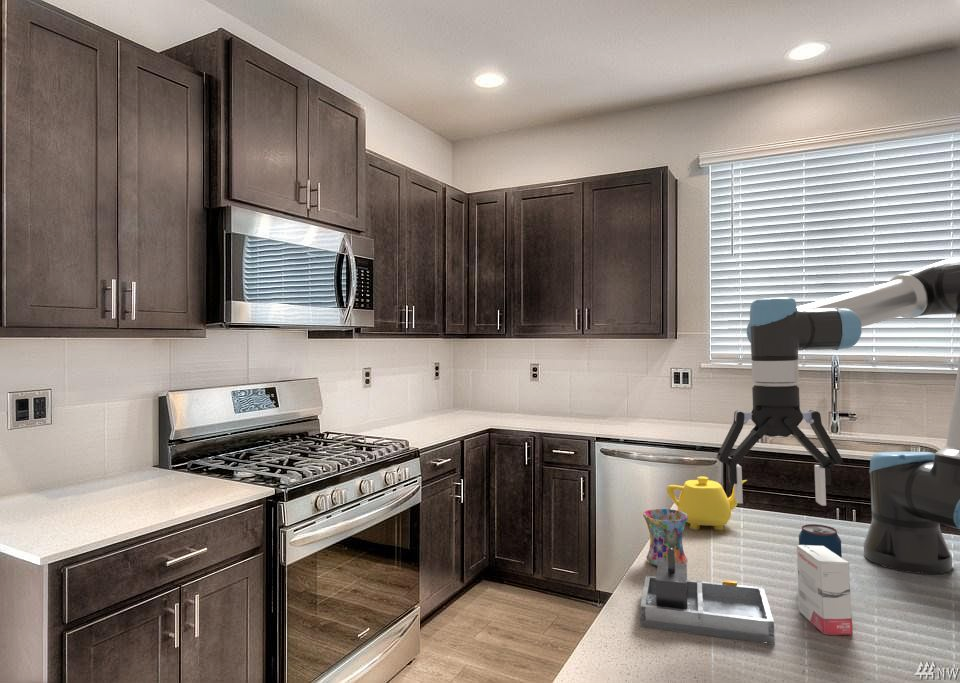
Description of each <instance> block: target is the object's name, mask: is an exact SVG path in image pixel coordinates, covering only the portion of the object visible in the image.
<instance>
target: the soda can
mask: <svg viewBox="0 0 960 683" xmlns="http://www.w3.org/2000/svg"><path fill="white" fill-rule="evenodd" d="M798 545H814V546H825V547H826V548H827V549H829V550H830V551H832V552H833V553H835V554H836V555H838V556H839V557H841V558H843V556H842V555H843V554H842V552H843V551H842V540H841V538H840V536H839V534H838V530H837V529H836V528H835V527H831V526H828V525H824V524H818V523H816V524H812V523H811V524H804V525H802V526H801V530H800V533H799V534H798Z"/></svg>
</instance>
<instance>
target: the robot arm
mask: <svg viewBox="0 0 960 683" xmlns="http://www.w3.org/2000/svg"><path fill="white" fill-rule="evenodd" d="M796 301H797V300H795V299H794V298H793V297H769V298H760V299H756V300H754V301H752V303H751V304H750V310H749V322H748V323H747V327H746V337H747V339H748V342H749V343H750V354H751V355H750V356H751V381H752V382H753V383H755V384H754V385H753V386H752V388H751V391H752V410H751V412H746V411H745V412H744V411H741V410H735V411H734V413H733V423H732V424H731V427H730V428H729V430H728V433H727V434H726V437H725V438H724V441H723V443H722V444H721V447H720V448H719V450H718V453H717V455H716V459H717V460H718V461H719V462H720V463H722V464H725V465H727V479H728V482H729V483H730V484H732V485H733V486H734V489H735V500H736V501H737V502H738V504H744V502H743V500H744V498H743V484H742V480H743V471H742V466H741V465H740V464H739V463H740V462H741V461H742V460H743V458H744V457H745V456H746V455H747V454H748V453H749V451H750V450H752V448H753V447H755V445H756V444H757V443H758V441H760V440H761V439H762V438H763V437H764V436H768V437H770V438H771V437H772V438H773V437H778V436H779V437H785V438H787V437H789V436H791V435H792V437H793V438H795V439H796V440H797V441H798V443H799V444H800V445H801V446H802V447H803V448H805V450H806V451H807V452H808V453H809V454H810V455H811V456H812V457H813V459H815V460H816V461H817V462H818V464H814V489H815V491H814V492H815V493H814V494H815V502H816V503H817V504H819V505H821V506H824V507H825V506H827V494H826V493H827V492H826V491H827V489H826V486H831V483H832V473H831V471H832V469H833V467H834V466H836V465H842V464H843V462H844V460H843V457H842V456H841V455H840V453H839V451H838V449H837V448H836V446H835V444H834V442H833V441H832V439H831V437H830V435H829V434H828V432H827V430H826V429H825V427H824V425H823V423H822V416H821V413H820V412H819V411H817V410H814V409H810V410H809V411H803V412H802V411H801V408H800V407H801V406H800V405H801V404H800V403H801V402H800V401H801V400H800V387H799V386H798V385H797V384H796V383H798V382H799V381H800V375H799V351H808V350H809V351H815V350H816V351H820V350H826V351H827V350H833V351H838V350H844V349H849V348H852V347H854V346H856V344H857V343H858V342H859V340H860V338H861V336H862V333H863V332H862V328H863V327H867V326H870V325H875V324H878V323H881V322H885V321H889V320H893V319H896V318H899V317H901V318H905V319H915V318H918V317H921V316H930V315H932V316H933V315H952V314H953V315H955V319H956V320H957V321H958V322H960V257H952V258H948V259H943V260H941V261H937V262H935V263H932V264H928V265H925V266H923V267H919V268H917V269H914V270H911V271H909V272H904V273H900V274H897V275H895V276H893V277H892V278H891V279H889V281H888V282H886V283H885V282H884V283H882V284H878V285H875V286H870V287H868V288H864V289H859V290H855V291H851V292H849V293H844V294H840V295H837V296H833V297H830V298H825V299H821V300H818V301H814V302H810V303H806V304H803V305H799V306H797V302H796ZM953 392H954V393H953V398H952V406H951V413H950V420H949V426H948V433H947V439H946V446H944V447H943V448H941V449H939V450H937V451H936V452H935V453H934V452H931V451H883V452H878V453H877V452H875V454H873V455H872V456H870V461H869V462H870V463H869V469H868V472H869V485H870V501H871V502H870V503H871V504H870V505H871V506H870V507H871V522H870V525H869V528H868V531H867V534H866V536H865V538H864V542H863V555H864V557H865V558H866V559H867V560H869V561H871V562H872V563H875V564H877V565H879V566H882V567H884V568H889V569H893V570H897V571H902V572H906V573H913V574H924V575H927V574H928V575H929V574H930V575H939V574H946V573H949V572H951V571H952V570H953V558H952V554H951V552H950V549H949V547H948V544H947V543H946V540H945V537H944V534H943V533H942V530H941V526H940V525H944V526H947V527H950V528H954V529H956V530H959V531H960V357H959V359H958V365H957V373H956V380H955V387H954V391H953ZM749 420H751V421H752V422H753V424H754V427H752V429H751V430H750V432H749V434H748V435H747V436H746V437H745V438H744V439H743V440H742V441H741V443H740V444H739V445H738V446H737V447H736V449H735V450H734V451H733V452H732V450H733V449H734V446H735V444H736V442H737V440H738V438H739V436H740V434H741V432H742V430H743V428H744V425H746V424H747V423H748V422H749ZM803 420H805V422H806V424H809V425H810V427H811V429H812V431H813V432H814V434H815V436H816V438H817V440H818V441H819V443H820V444H821V446H822V448H823V450H824V452H825V453H826V455H824V454H823V452H822V451H820V449H819V448H818V447H817V446H816V445H815V444H814V443H813V442H812V441H811V440H810V439H809V438H808V437H807V436H806V435H805V433H804V432H803V431H802V430H801V429H800V428H799V425H800V424H801V422H802V421H803ZM731 452H732V453H731ZM827 456H828V457H827Z"/></svg>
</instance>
